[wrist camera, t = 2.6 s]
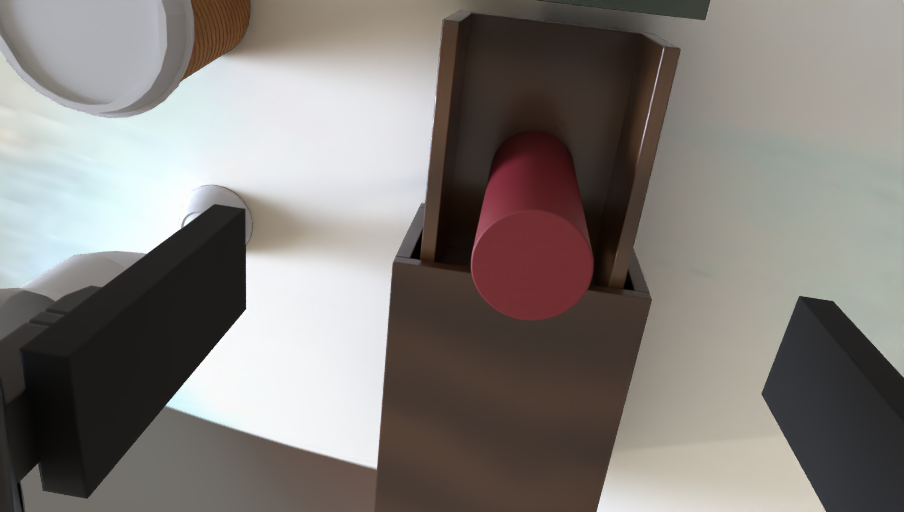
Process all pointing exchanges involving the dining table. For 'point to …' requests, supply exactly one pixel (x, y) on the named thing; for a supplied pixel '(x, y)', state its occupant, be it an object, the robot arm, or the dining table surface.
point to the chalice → (96, 266)
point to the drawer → (550, 119)
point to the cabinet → (500, 393)
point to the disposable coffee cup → (116, 48)
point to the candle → (532, 231)
